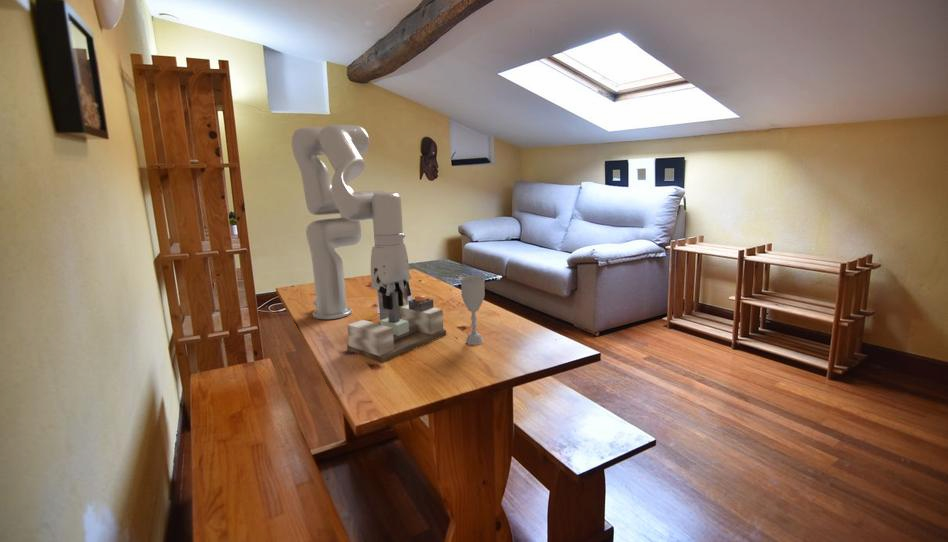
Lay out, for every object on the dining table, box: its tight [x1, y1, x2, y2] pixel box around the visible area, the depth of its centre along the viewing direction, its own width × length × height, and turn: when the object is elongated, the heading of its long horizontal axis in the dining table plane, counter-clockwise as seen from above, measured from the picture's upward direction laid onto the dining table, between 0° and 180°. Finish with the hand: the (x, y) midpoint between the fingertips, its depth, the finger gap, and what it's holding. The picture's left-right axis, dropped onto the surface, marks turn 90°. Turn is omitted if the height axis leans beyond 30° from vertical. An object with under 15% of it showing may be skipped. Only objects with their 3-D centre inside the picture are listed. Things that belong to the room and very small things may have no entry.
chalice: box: [458, 274, 487, 346], centre depth 133 cm, size 7×7×18 cm
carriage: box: [379, 291, 409, 336], centre depth 133 cm, size 7×4×11 cm, turn 51°
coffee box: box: [377, 282, 409, 321], centre depth 151 cm, size 9×6×16 cm
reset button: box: [414, 294, 427, 303], centre depth 141 cm, size 3×3×2 cm
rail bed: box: [346, 297, 447, 363], centre depth 135 cm, size 14×24×10 cm, turn 141°
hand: (393, 306), depth 133 cm, fingers closed on carriage, 3 cm apart
